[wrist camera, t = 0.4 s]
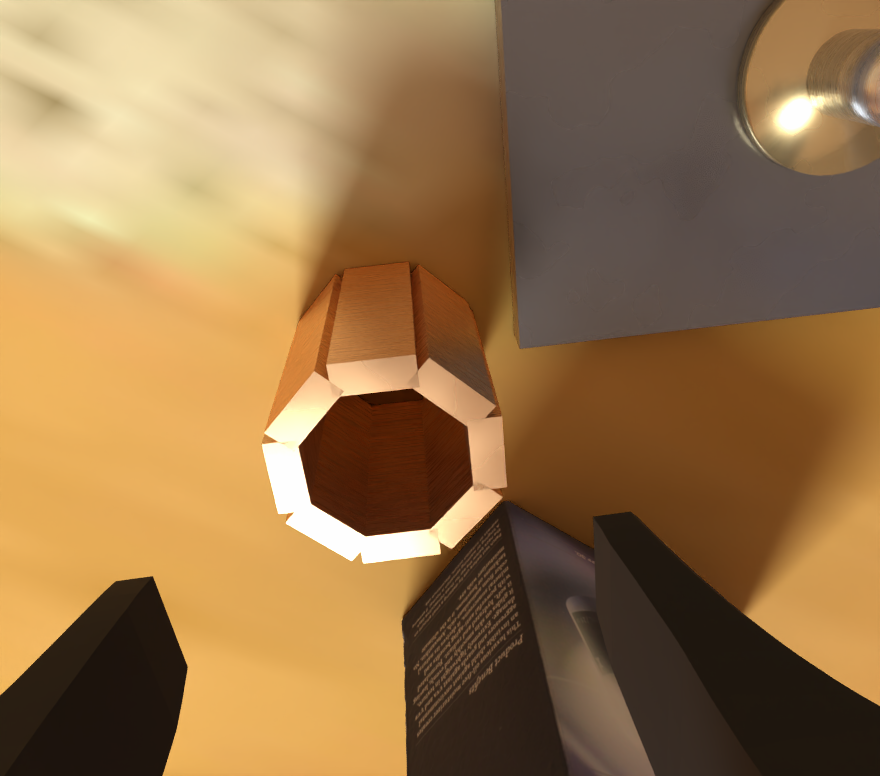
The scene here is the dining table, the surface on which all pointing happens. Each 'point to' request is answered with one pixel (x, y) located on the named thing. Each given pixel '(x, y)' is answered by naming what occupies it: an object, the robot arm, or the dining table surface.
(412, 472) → the brown hollow prism
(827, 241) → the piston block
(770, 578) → the dining table surface
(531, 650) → the small box
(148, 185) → the dining table surface
